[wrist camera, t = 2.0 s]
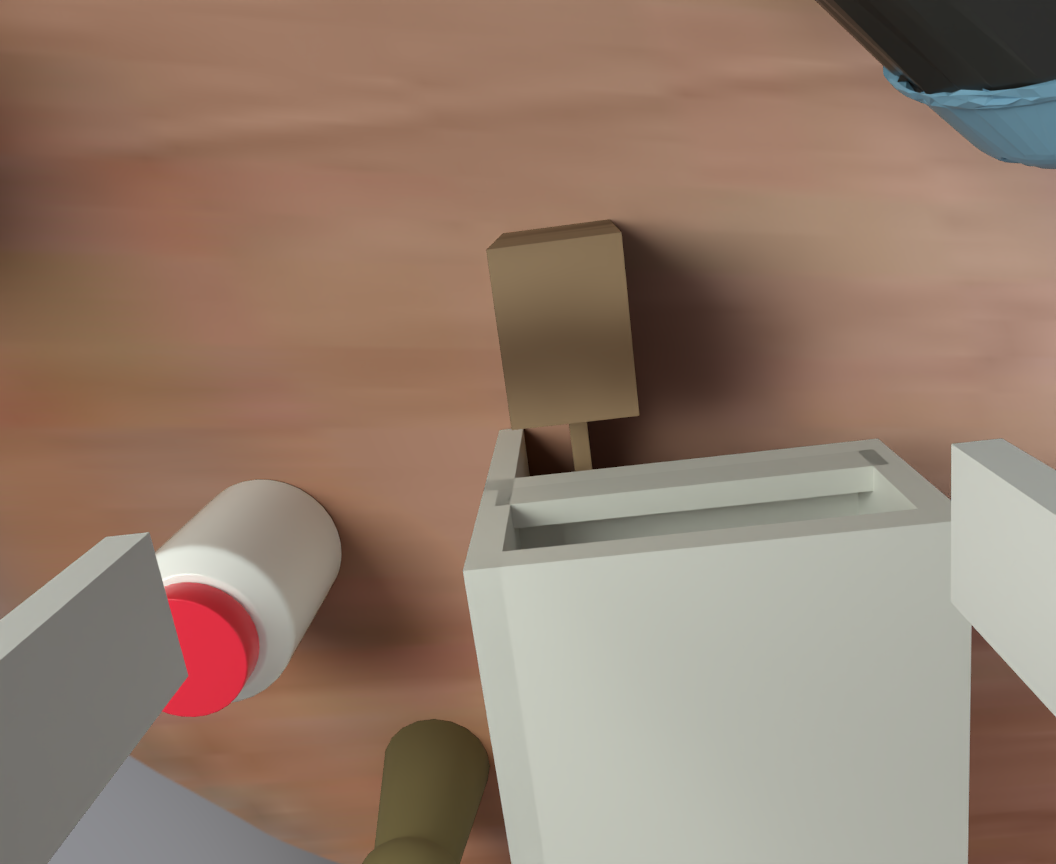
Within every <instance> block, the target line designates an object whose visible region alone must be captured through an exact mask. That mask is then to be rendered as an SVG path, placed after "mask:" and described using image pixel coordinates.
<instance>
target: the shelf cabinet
mask: <svg viewBox="0 0 1056 864" xmlns="http://www.w3.org/2000/svg"><path fill="white" fill-rule="evenodd" d="M463 574H464V580H465V587H466V593H467V599H468V605H469V611H470V617H471V623H472V629H473V635H474V641H475V647H476V653H477V659H478V665H479V671H480V677H481V683H482V689H483V695H484V701H485V707H486V713H487V719H488V725H489V731H490V737H491V743H492V749H493V755H494V761H495V768H496V774H497V780H498V786H499V792H500V798H501V804H502V810H503V816H504V822H505V828H506V834H507V840H508V846H509V852H510V858H511V864H968V821H969V756H970V692H971V627H972V625H971V624H970V622H969V621H968V620H967V619H966V618H965V617H964V616H963V615H962V614H961V613H960V612H959V610H958V609H957V608H956V607H955V606H954V605H953V604H952V603H951V500H950V499H949V498H948V497H946V496H945V495H944V494H943V493H942V492H940V491H939V490H938V489H937V488H936V487H935V486H933V485H932V484H931V483H930V482H929V481H927V480H926V479H925V478H924V477H923V476H922V475H920V474H919V473H918V472H917V471H916V470H915V469H913V468H912V467H911V466H910V465H909V464H907V463H906V462H905V461H904V460H903V459H902V458H900V457H899V456H898V455H897V454H896V453H894V452H893V451H892V450H891V449H890V448H889V447H887V446H886V445H885V444H884V443H883V442H881V441H880V440H879V439H869V440H860V441H851V442H842V443H832V444H823V445H814V446H805V447H796V448H787V449H777V450H768V451H759V452H750V453H741V454H732V455H722V456H713V457H704V458H695V459H686V460H677V461H667V462H658V463H649V464H640V465H631V466H622V467H612V468H603V469H594V470H585V471H576V472H567V473H557V474H548V475H539V476H530V474H529V466H528V459H527V452H526V444H525V437H524V430H523V429H518V430H512V429H506V430H499V434H498V438H497V442H496V445H495V449H494V453H493V457H492V461H491V465H490V468H489V472H488V476H487V480H486V484H485V488H484V492H483V495H482V499H481V503H480V507H479V511H478V515H477V519H476V522H475V526H474V530H473V534H472V538H471V542H470V546H469V549H468V553H467V557H466V561H465V565H464V569H463Z"/></svg>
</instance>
